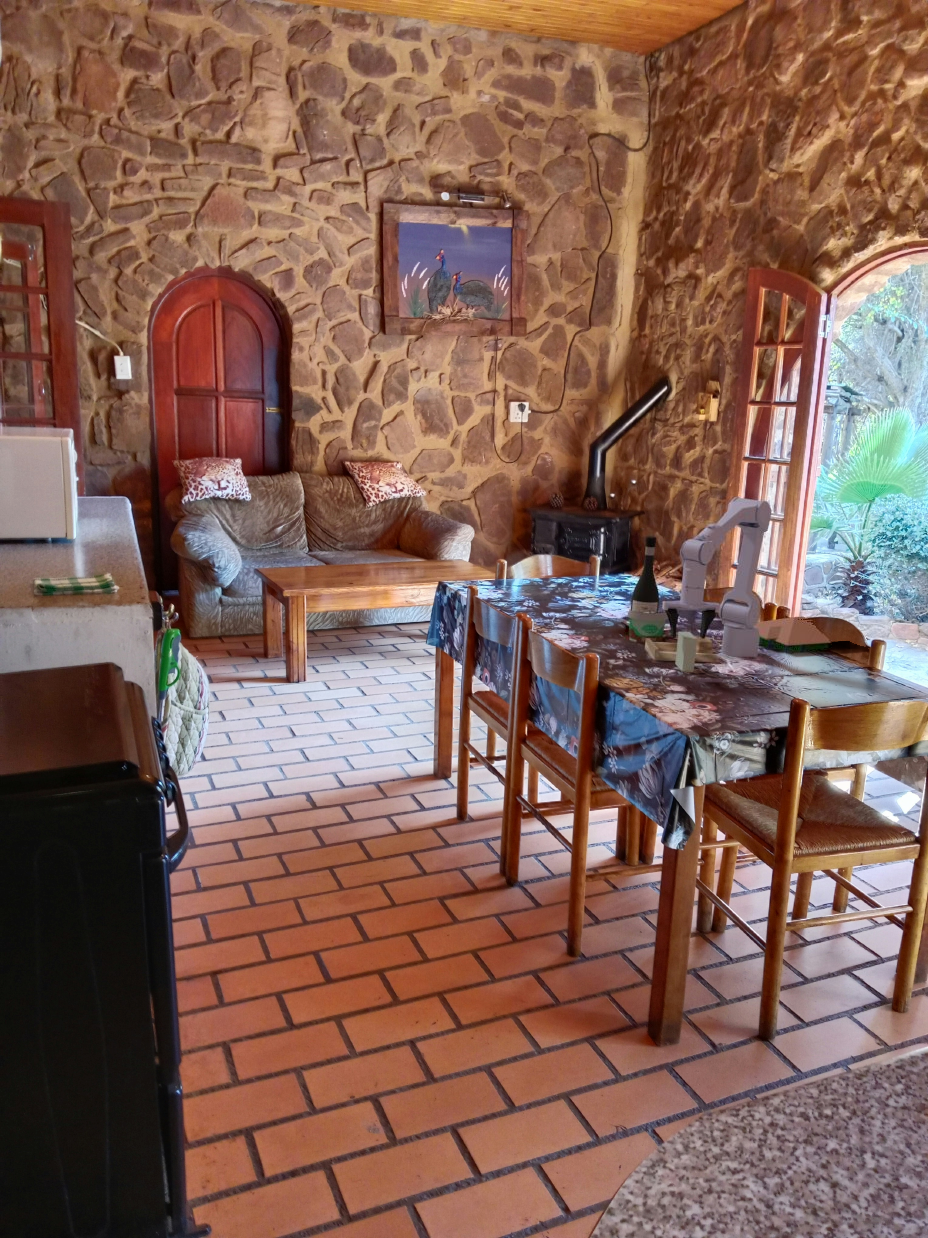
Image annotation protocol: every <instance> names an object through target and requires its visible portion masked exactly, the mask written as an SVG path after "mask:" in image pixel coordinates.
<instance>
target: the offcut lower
mask: <svg viewBox="0 0 928 1238" xmlns="http://www.w3.org/2000/svg"><path fill="white" fill-rule="evenodd" d="M696 653H702V654H714V650H713V649H712V650H699V649H698V648H697V647H696Z"/></svg>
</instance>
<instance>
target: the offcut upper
mask: <svg viewBox="0 0 928 1238" xmlns="http://www.w3.org/2000/svg"><path fill="white" fill-rule="evenodd" d="M695 637H696V638H697V645H696V647H697V648H698V649H699V650H713V641H712V640H711V639H710V638H709V637H708V636H705V639H702V638H701V637H700V636H695Z"/></svg>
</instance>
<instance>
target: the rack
mask: <svg viewBox="0 0 928 1238" xmlns="http://www.w3.org/2000/svg"><path fill="white" fill-rule="evenodd" d="M677 643H678V642H666V641H665V642H664V641H661V642H652V641H651V640H650V639H649V638H646V642H645V644H644V650H645V651H646V652H647V653H648V654H649V656H650V657H651V658H652V660H654V661H666V662H667V661H668V662H669V661H670V662H671V661H673V662H676V652H677ZM695 662H703V663H720V661H719V660H718V654H717V653H713V654H702V653H696V654H695Z"/></svg>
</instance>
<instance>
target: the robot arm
mask: <svg viewBox="0 0 928 1238" xmlns="http://www.w3.org/2000/svg"><path fill="white" fill-rule="evenodd" d="M727 505H728V506H727V511H726V512H725V513H724V515H723V516H722V517H721V518H720V519H719V520H718V521H717V522H716V523H709V524H707V526H706V527H705V528H704V529H703V530H701V532H699V533H698V534H697V535H696V536H695V537H694V538H693V539H692V538H689V539H687V540H685V541H684V542H683V544H682V546H681V549H680V550H679V551H680V552H679V553H680V554H679V555H680V559H681V567H682V568H683V570H682V578H681V579H682V581H681V591H680V600H667V601H665V600H664V601H662V610H664V611H666V614H667V617H668V619H667V620H668V622H669V628H670V636H671V638H674V639H675V638H676V637H677V629H678V628H677V626H678V621H679V616H680V614H679V613H678V611H701V621H700V622H701V625H700V632H699V637H701V638H702V639H705V637H707V636H706V635H707V633H708V630H709V628H710V626H711V624H712V622H713V621H714V620H715V618H716V617H717V613H718V616H719V619H720V621H721V625H723V633H722V642H721V643H722V644H721V650H720V652H721V654H723V655H725V656H728V657H734V658H735V657H736V658H743V657H744V658H746V657H749V658H753V657H755V658H757V657H758V653H759V645H760V644H759V630H758V628H757V627H756V626H755V625H756V624H757V622H759V619H760V613H761V612H760V605H761V604H760V603H761V601H760V599H758V597H757V596H756V595H755V594H754V593H753V589H754V584H755V580H756V575H757V571H758V570H757V569H758V565H759V559H760V554H761V550H762V545H763V544H762V543H763V540H764V535H765V533H767V532H768V530H769V527H770V522H771V517H772V511H773V510H772V508H771V506H770V503H769V502H768V501H766V500H756V499H749V498H744V497H743V498H742V497H738V496H736V497H735V496H734V498H733V499H732V500H731V501H729V503H728V504H727ZM735 527H738V528H740V529H741V531H742V533H743V538H742V542H741V548H740V554H739V556H738V557H739V559H738V563H737V569H736V573H735V574H736V575H735V579H734V584H733V588H732V590H729V592H726V593H725V594H724V595H723V598H722V601H721V603H720V604H719V603H718V602H710V601H709V602H708V601H704V596H705V595H704V594H705V585H706V575H707V568H708V563H710V562H711V561H712V558H713V556H714V554H715V552H716V550H717V549H718V547H719V546H721V545H722V544H723V543H724V542H725V541H726V538H727V533H729V532H730V531H731V530H733V528H735Z"/></svg>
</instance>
